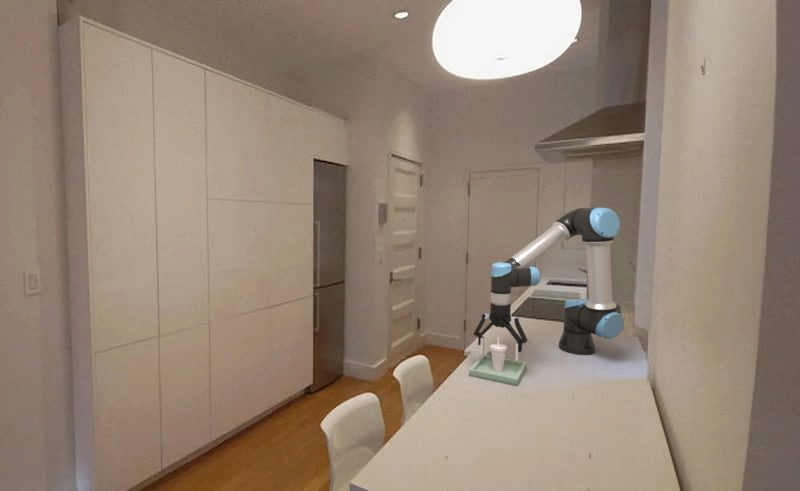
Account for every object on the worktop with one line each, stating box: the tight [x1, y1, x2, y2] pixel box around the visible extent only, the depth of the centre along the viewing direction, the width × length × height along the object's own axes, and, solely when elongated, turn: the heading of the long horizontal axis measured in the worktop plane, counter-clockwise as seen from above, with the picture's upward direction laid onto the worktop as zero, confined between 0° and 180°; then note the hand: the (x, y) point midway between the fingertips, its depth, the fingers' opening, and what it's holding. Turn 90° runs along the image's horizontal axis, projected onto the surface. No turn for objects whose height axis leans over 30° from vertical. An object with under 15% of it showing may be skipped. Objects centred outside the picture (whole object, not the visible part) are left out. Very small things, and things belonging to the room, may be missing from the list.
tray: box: [468, 354, 528, 387], centre depth 151 cm, size 18×18×2 cm
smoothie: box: [489, 334, 508, 372], centre depth 150 cm, size 6×6×14 cm
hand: (499, 356), depth 150 cm, fingers open, 13 cm apart
